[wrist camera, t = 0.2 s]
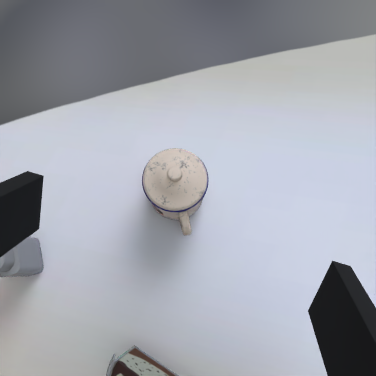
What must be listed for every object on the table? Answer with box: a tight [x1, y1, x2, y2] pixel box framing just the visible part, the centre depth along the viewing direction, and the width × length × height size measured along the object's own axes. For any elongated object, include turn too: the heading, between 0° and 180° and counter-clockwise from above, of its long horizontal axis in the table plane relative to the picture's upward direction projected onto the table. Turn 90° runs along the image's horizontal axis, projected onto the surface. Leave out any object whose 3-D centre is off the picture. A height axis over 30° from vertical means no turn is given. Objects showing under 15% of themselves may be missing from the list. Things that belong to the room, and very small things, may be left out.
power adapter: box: [0, 237, 43, 277], centre depth 42 cm, size 3×5×12 cm, turn 16°
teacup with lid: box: [142, 148, 208, 235], centre depth 45 cm, size 12×9×12 cm
